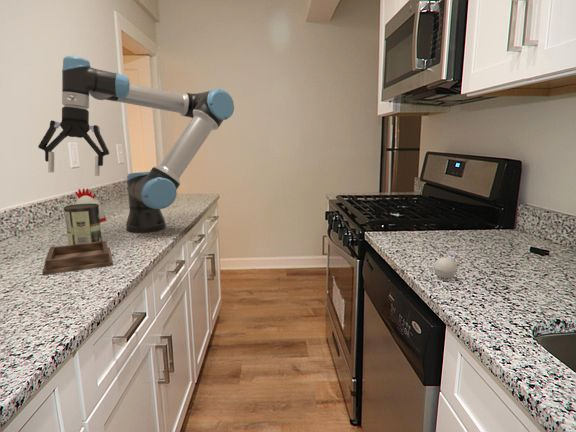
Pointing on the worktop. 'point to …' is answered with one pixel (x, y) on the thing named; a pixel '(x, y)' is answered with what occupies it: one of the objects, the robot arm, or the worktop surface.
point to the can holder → (77, 257)
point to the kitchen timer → (90, 202)
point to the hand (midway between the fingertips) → (74, 174)
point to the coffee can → (83, 223)
